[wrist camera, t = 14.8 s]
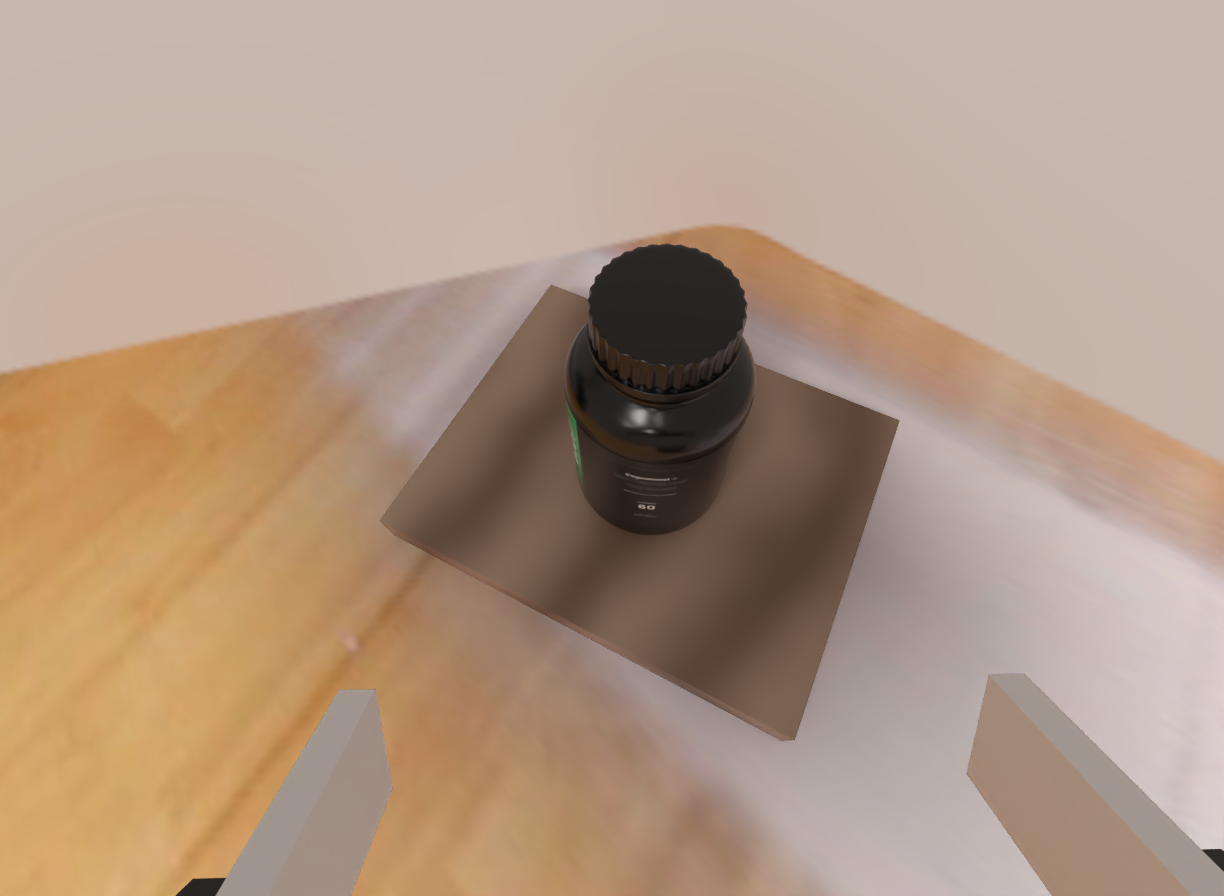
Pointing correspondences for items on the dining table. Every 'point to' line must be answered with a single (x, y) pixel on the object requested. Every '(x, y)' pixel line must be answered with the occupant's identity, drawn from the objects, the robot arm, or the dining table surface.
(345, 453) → the dining table surface
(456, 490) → the walnut board
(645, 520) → the supplement bottle
